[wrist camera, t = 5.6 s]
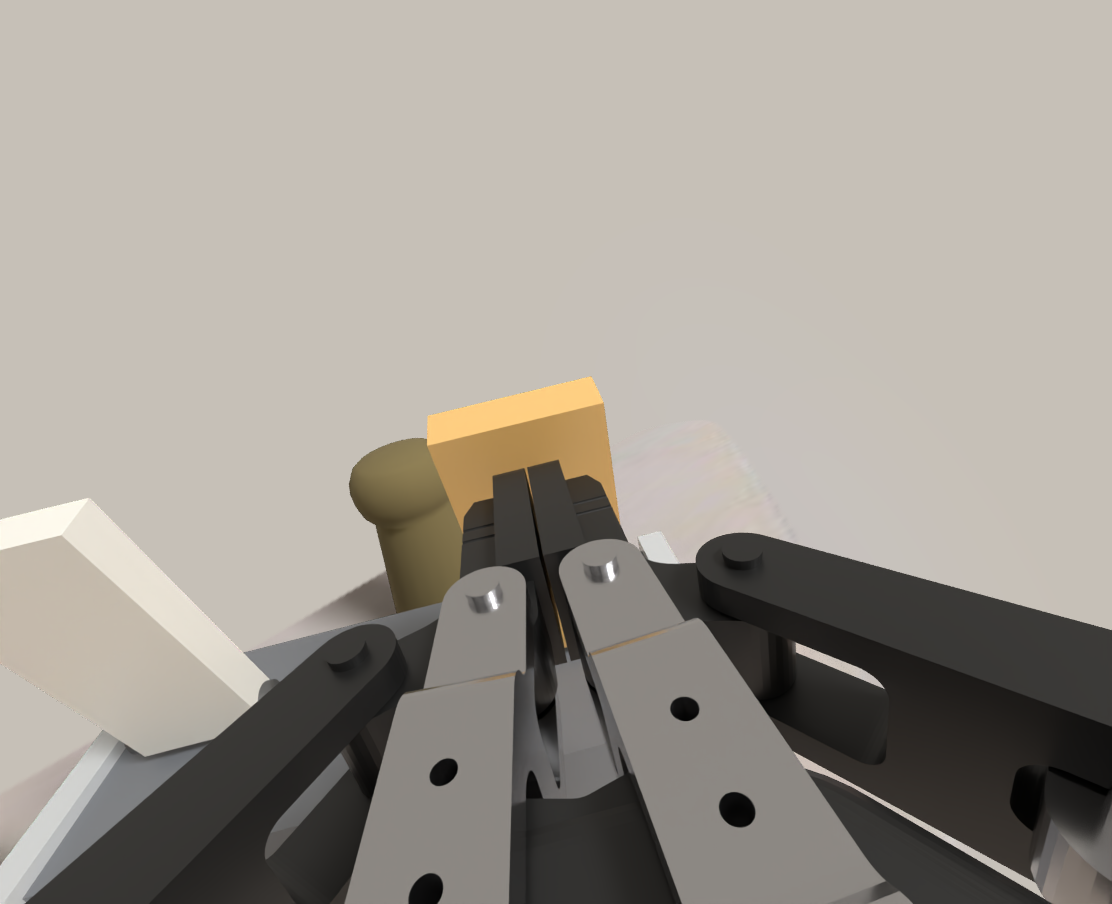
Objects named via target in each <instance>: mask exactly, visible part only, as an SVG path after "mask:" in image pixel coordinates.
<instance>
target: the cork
mask: <svg viewBox="0 0 1112 904" xmlns="http://www.w3.org/2000/svg"><path fill="white" fill-rule="evenodd" d="M349 488H350V495H351V497H352V500H353V502H354V504H355V506H356V507H357V509H358V511H359V512H360V513H361V514H362V516H363V517H364V518H365V519H366V520H367V521H369V522H371V523H373V524H375V525H376V529H377V533H378V538H379V542H380V546H381V550H382V554H383V558H384V562H385V567H386V571H387V575H388V579H389V584H390V588H391V592H392V596H393V600H394V604H395V609H396V613H397V614H398V613H402V612H406V611H409V610H413V609H417V608H421V607H425V606H429V605H433V604H437V603H441V602H443V599H444V596H445V594H446V593H447V591H448V590H449V589H450V587H451V586H452V585H453V584H455V583H456V582H457V581H458V580H460V567H461V551H462V545H463V543H462V536H463V532H462V530H461V528H460V525H459V523H458V520H457V518H456V515H455V513H454V510H453V508H452V506H451V503H450V501H449V498H448V496H447V493H446V491H445V488H444V486H443V484H442V481H441V479H440V476H439V474H438V471H437V469H436V466H435V464H434V462H433V459H432V457H431V454H430V452H429V449H428V447H427V439H424V438H412V439H406V440H401V441H397V442H394V443H390V444H388V445H385V446H382V447H380V448H378V449H376V450H374V451H372V452H370V453H369V454H367V455H366V456H364V457H363V458H362V459H361V460H360V461H359V462H358V463H357V464H356V465H355V466H354V467H353V469H352V473H351V478H350V482H349Z"/></svg>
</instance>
